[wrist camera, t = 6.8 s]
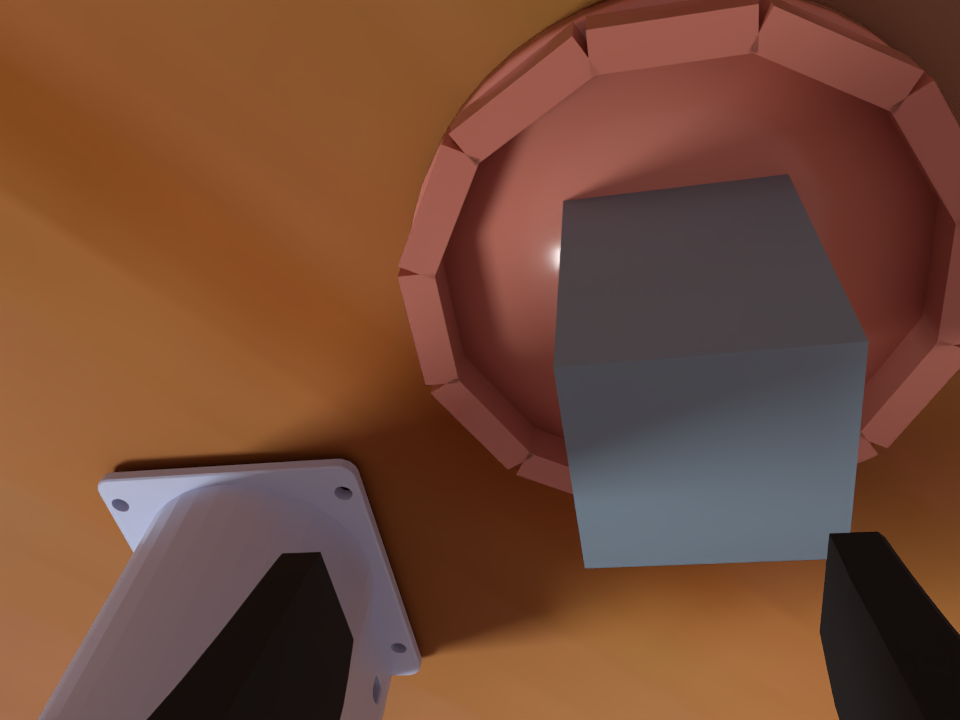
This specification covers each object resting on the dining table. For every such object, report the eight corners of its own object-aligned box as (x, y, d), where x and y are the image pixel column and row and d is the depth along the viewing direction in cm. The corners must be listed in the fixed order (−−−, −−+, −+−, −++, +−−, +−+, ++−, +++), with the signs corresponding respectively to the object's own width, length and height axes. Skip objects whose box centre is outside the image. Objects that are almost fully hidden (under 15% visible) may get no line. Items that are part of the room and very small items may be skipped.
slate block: (782, 357, 19) (848, 558, 15) (585, 373, 20) (585, 568, 15) (788, 173, 17) (868, 341, 12) (563, 200, 18) (553, 367, 13)
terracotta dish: (925, 446, 22) (953, 501, 20) (466, 472, 24) (457, 524, 22) (1008, -70, 15) (1058, -49, 13) (360, 33, 17) (336, 62, 16)
